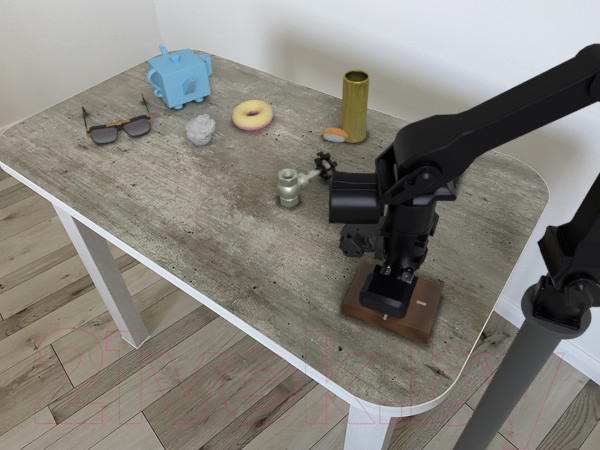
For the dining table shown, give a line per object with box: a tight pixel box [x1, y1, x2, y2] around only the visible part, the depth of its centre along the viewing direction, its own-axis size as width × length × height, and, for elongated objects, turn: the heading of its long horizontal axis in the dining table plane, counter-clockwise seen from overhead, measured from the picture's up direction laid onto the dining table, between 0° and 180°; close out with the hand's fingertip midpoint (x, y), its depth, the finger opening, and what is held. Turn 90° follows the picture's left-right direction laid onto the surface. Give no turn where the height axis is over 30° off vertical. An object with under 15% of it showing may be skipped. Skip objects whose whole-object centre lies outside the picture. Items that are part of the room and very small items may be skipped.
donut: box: [231, 99, 274, 132], centre depth 110 cm, size 10×5×9 cm
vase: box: [339, 69, 370, 144], centre depth 101 cm, size 6×6×14 cm
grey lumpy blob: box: [183, 113, 217, 147], centre depth 103 cm, size 6×7×7 cm
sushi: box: [319, 126, 348, 143], centre depth 104 cm, size 3×6×3 cm, turn 74°
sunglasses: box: [81, 93, 153, 145], centre depth 110 cm, size 14×15×5 cm
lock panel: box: [341, 260, 444, 345], centre depth 74 cm, size 13×10×3 cm
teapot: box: [146, 44, 213, 110], centre depth 115 cm, size 16×18×11 cm
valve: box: [276, 150, 338, 208], centre depth 91 cm, size 7×7×12 cm
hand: (394, 292), depth 72 cm, fingers closed, pressing on lock knob
